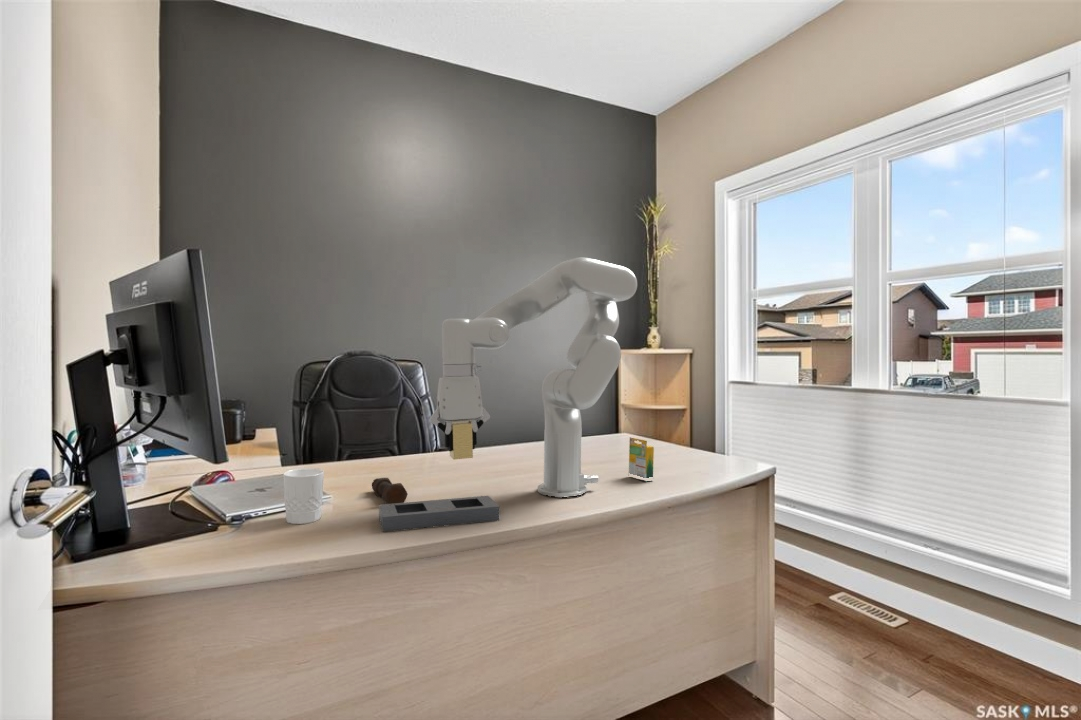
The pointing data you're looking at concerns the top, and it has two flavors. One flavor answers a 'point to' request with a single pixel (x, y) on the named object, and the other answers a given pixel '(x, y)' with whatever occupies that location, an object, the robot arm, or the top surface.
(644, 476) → the crayon box
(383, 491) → the bolt
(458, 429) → the gold block
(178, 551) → the top surface
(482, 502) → the grey peg board
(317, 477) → the white cup
